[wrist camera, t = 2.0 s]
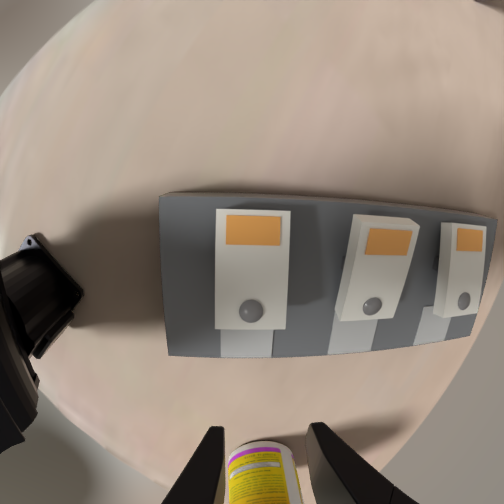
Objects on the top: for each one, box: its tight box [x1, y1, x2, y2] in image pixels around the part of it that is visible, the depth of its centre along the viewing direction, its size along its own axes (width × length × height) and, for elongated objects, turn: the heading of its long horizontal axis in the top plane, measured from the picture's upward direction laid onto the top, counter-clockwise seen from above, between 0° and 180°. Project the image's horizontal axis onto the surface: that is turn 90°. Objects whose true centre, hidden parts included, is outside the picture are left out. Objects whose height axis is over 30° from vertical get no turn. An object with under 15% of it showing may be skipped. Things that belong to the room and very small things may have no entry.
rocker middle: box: [335, 214, 420, 321], centre depth 16 cm, size 6×4×1 cm, turn 177°
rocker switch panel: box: [159, 192, 497, 358], centre depth 19 cm, size 24×10×4 cm, turn 88°
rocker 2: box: [433, 222, 486, 318], centre depth 16 cm, size 6×4×1 cm, turn 178°
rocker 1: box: [215, 209, 291, 330], centre depth 15 cm, size 6×4×1 cm, turn 178°
